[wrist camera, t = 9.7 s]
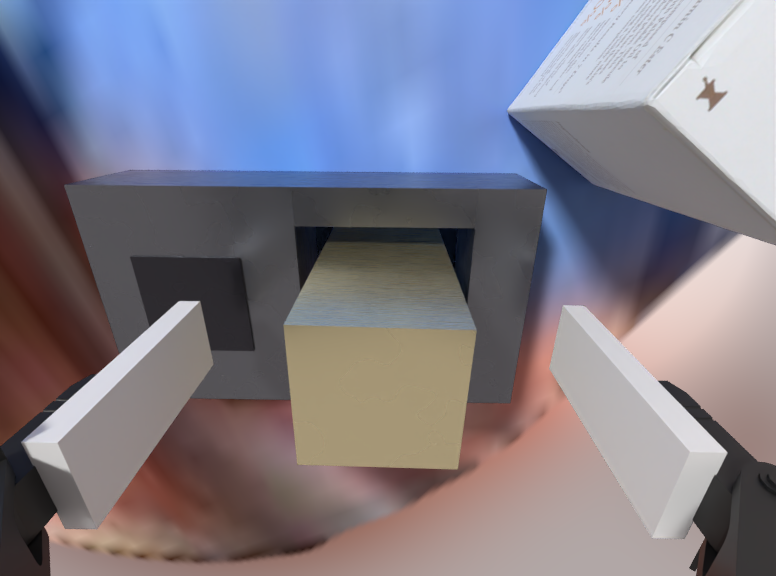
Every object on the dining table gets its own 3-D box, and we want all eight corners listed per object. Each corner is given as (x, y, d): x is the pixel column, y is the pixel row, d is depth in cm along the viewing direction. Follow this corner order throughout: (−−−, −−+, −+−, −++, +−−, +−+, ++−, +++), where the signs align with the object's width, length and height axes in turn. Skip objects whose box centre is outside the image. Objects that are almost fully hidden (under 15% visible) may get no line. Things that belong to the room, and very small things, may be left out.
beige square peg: (337, 313, 21) (295, 464, 12) (334, 223, 19) (281, 324, 10) (431, 315, 21) (459, 469, 12) (438, 226, 19) (478, 330, 10)
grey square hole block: (176, 350, 22) (132, 398, 19) (129, 170, 18) (61, 185, 15) (491, 355, 22) (510, 404, 18) (516, 173, 18) (547, 189, 14)
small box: (590, 186, 18) (806, 269, 9) (501, 110, 17) (638, 110, 7) (742, 18, 16) (1302, -128, 6) (649, -87, 14) (1169, -488, 5)
